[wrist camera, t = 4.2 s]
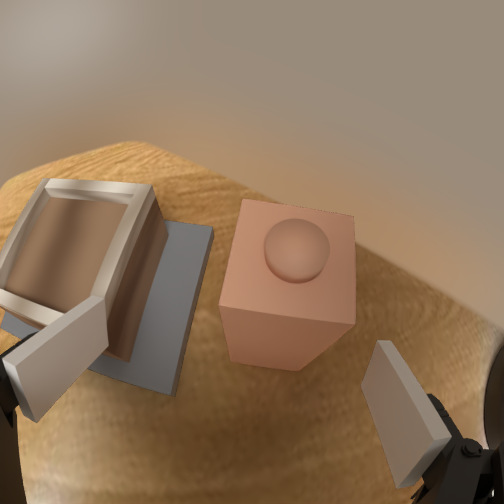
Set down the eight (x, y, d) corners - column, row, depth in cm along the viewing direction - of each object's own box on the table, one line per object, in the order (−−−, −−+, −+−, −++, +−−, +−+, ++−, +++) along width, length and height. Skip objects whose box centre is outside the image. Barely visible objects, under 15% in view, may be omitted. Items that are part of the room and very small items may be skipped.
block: (304, 310, 23) (358, 205, 12) (298, 371, 20) (363, 317, 9) (242, 300, 23) (243, 185, 12) (230, 362, 21) (217, 296, 10)
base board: (214, 236, 26) (212, 226, 25) (175, 396, 19) (170, 395, 18) (59, 215, 27) (54, 206, 26) (9, 332, 20) (0, 327, 19)
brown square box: (168, 235, 24) (151, 184, 19) (129, 362, 19) (90, 341, 13) (70, 221, 25) (42, 178, 20) (26, 323, 19) (-18, 294, 14)
